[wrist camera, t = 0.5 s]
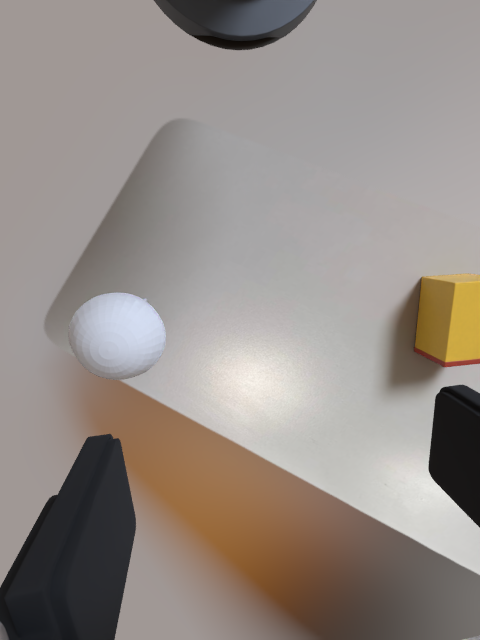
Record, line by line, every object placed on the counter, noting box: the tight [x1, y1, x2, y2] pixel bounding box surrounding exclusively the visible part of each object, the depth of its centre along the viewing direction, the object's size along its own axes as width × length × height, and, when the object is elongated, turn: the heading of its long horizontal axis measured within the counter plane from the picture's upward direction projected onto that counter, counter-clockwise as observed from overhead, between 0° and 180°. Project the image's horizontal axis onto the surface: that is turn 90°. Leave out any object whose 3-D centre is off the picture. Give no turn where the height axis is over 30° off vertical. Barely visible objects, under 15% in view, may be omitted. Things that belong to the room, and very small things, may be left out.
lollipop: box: [69, 292, 166, 380], centre depth 26 cm, size 6×6×15 cm
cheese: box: [414, 274, 480, 367], centre depth 36 cm, size 9×6×5 cm
